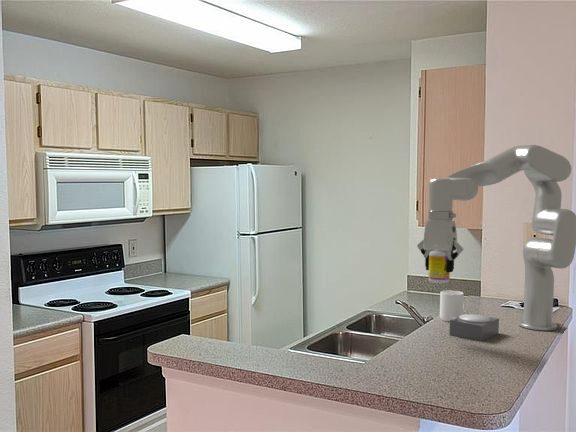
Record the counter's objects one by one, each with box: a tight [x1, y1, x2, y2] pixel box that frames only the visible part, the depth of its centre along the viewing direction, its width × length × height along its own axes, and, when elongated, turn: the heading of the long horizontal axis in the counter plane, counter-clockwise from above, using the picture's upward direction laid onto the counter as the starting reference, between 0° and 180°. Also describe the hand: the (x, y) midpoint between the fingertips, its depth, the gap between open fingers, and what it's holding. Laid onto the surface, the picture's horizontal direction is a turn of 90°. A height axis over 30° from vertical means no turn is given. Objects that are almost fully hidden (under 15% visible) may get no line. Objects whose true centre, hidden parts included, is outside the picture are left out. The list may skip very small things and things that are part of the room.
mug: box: [439, 290, 467, 323], centre depth 217 cm, size 12×8×10 cm
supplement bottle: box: [428, 244, 451, 284], centre depth 190 cm, size 7×7×13 cm
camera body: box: [449, 313, 500, 342], centre depth 196 cm, size 14×11×6 cm
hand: (439, 270), depth 190 cm, fingers closed on supplement bottle, 6 cm apart
